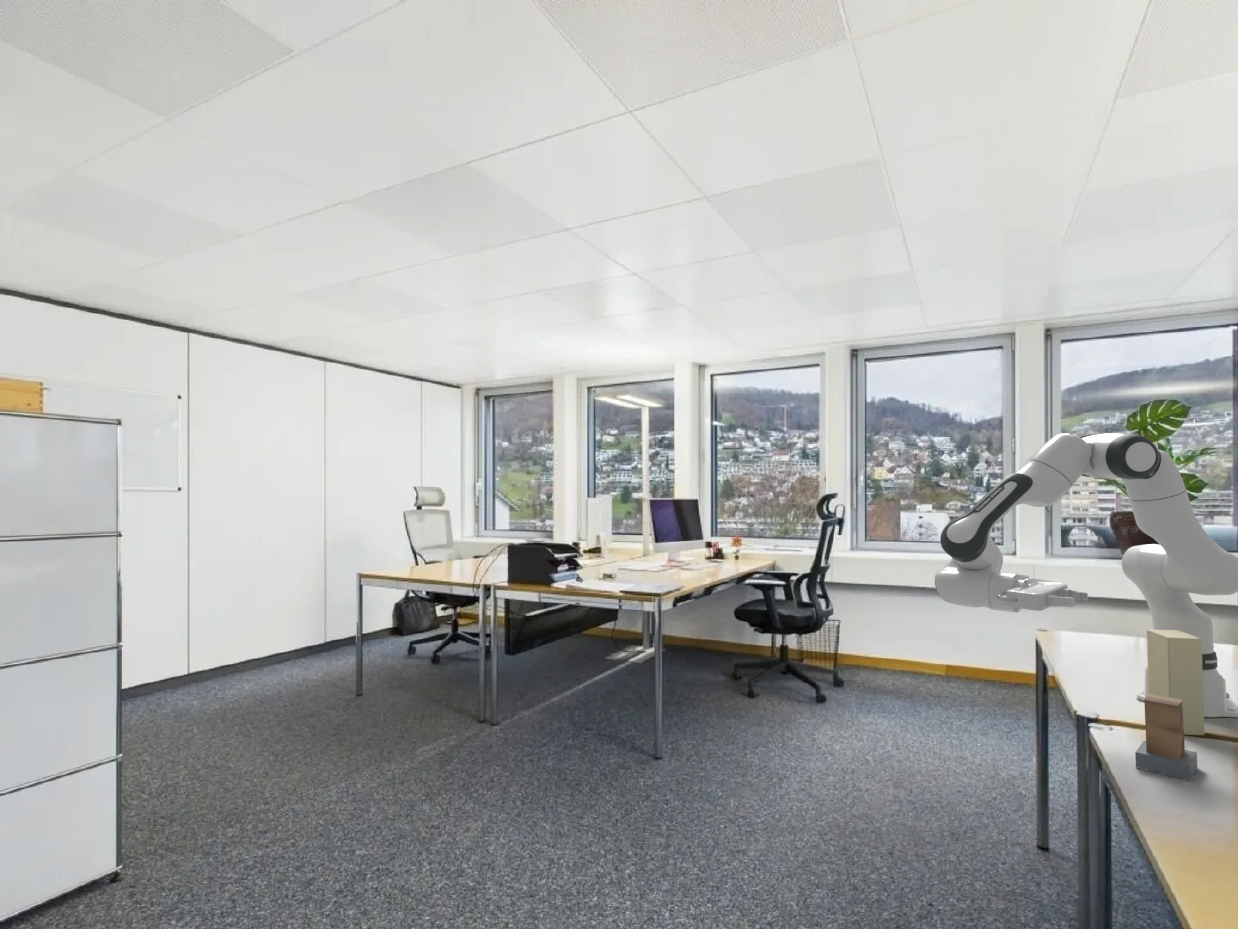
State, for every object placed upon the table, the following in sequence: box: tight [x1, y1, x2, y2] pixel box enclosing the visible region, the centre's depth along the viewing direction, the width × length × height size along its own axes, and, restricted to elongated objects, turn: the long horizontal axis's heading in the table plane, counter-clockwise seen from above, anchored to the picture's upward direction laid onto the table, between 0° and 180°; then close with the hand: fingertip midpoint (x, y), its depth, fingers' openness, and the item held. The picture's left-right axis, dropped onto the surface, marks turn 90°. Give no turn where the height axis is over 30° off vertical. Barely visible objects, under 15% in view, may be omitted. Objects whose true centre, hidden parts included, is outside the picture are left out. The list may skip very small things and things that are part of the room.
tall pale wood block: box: [1146, 629, 1205, 736], centre depth 145 cm, size 8×7×21 cm
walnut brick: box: [1143, 694, 1186, 760], centre depth 125 cm, size 5×5×10 cm
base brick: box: [1134, 740, 1198, 782], centre depth 125 cm, size 8×8×3 cm
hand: (1081, 599), depth 140 cm, fingers open, 8 cm apart
